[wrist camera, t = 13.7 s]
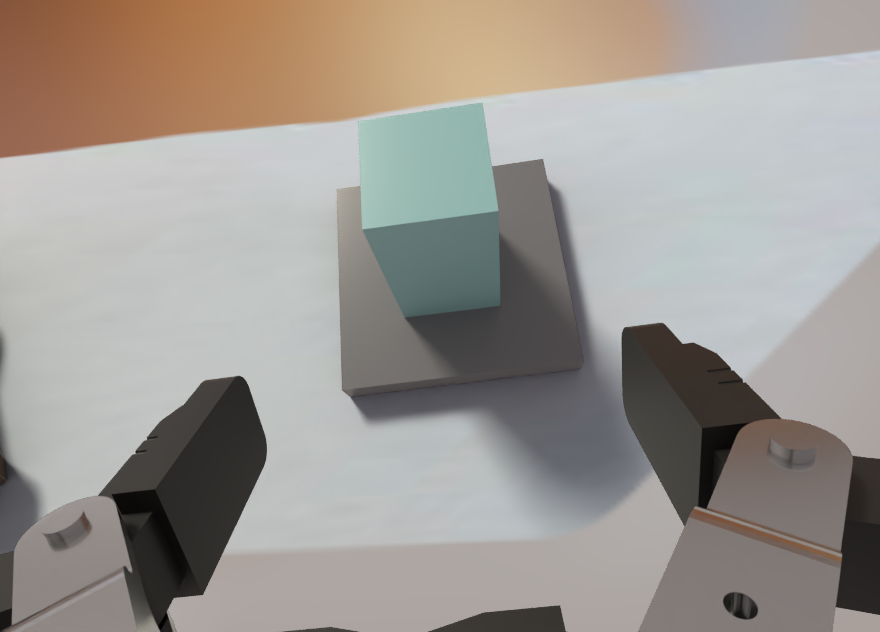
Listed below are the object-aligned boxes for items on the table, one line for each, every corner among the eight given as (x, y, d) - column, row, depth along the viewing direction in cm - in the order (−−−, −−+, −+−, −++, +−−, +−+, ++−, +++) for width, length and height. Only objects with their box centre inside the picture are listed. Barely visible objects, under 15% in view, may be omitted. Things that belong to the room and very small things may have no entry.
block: (404, 317, 28) (362, 229, 20) (398, 234, 30) (358, 121, 22) (500, 305, 28) (498, 211, 19) (488, 221, 30) (482, 102, 21)
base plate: (350, 396, 28) (323, 374, 24) (343, 203, 33) (320, 156, 29) (579, 369, 28) (593, 341, 23) (541, 175, 32) (546, 122, 28)
